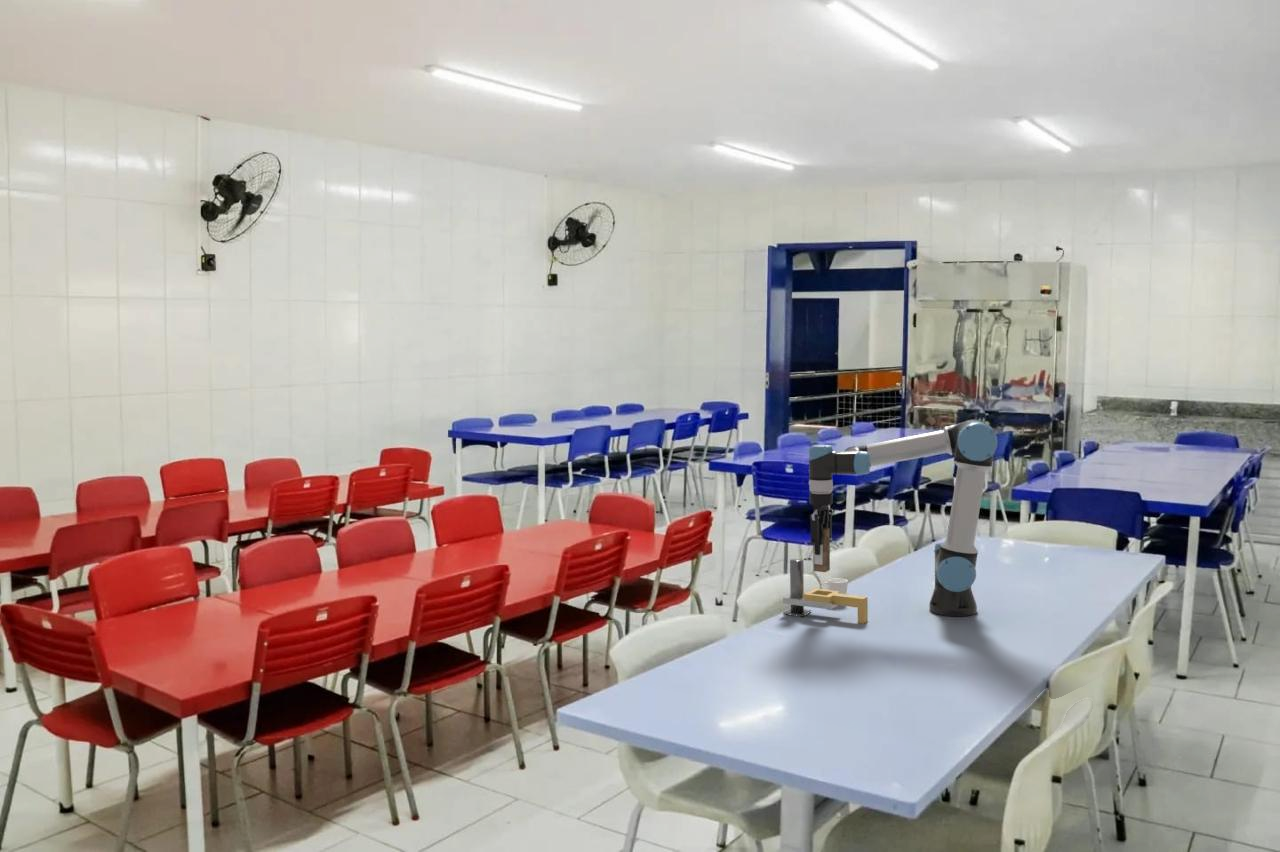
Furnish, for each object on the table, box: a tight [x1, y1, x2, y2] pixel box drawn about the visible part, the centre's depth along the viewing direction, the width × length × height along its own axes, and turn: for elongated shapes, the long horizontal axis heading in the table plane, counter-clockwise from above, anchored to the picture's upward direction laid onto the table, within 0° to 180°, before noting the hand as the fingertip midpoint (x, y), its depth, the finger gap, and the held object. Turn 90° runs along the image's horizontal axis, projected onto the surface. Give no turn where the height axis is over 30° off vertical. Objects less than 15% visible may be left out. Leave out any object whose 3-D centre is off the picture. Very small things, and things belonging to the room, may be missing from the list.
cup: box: [819, 577, 849, 594], centre depth 365 cm, size 7×10×8 cm
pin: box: [812, 528, 831, 573], centre depth 346 cm, size 4×4×14 cm
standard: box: [782, 558, 839, 617], centre depth 349 cm, size 18×9×18 cm, turn 57°
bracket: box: [804, 588, 869, 625], centre depth 345 cm, size 20×9×8 cm, turn 57°
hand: (821, 562), depth 346 cm, fingers closed on pin, 4 cm apart
